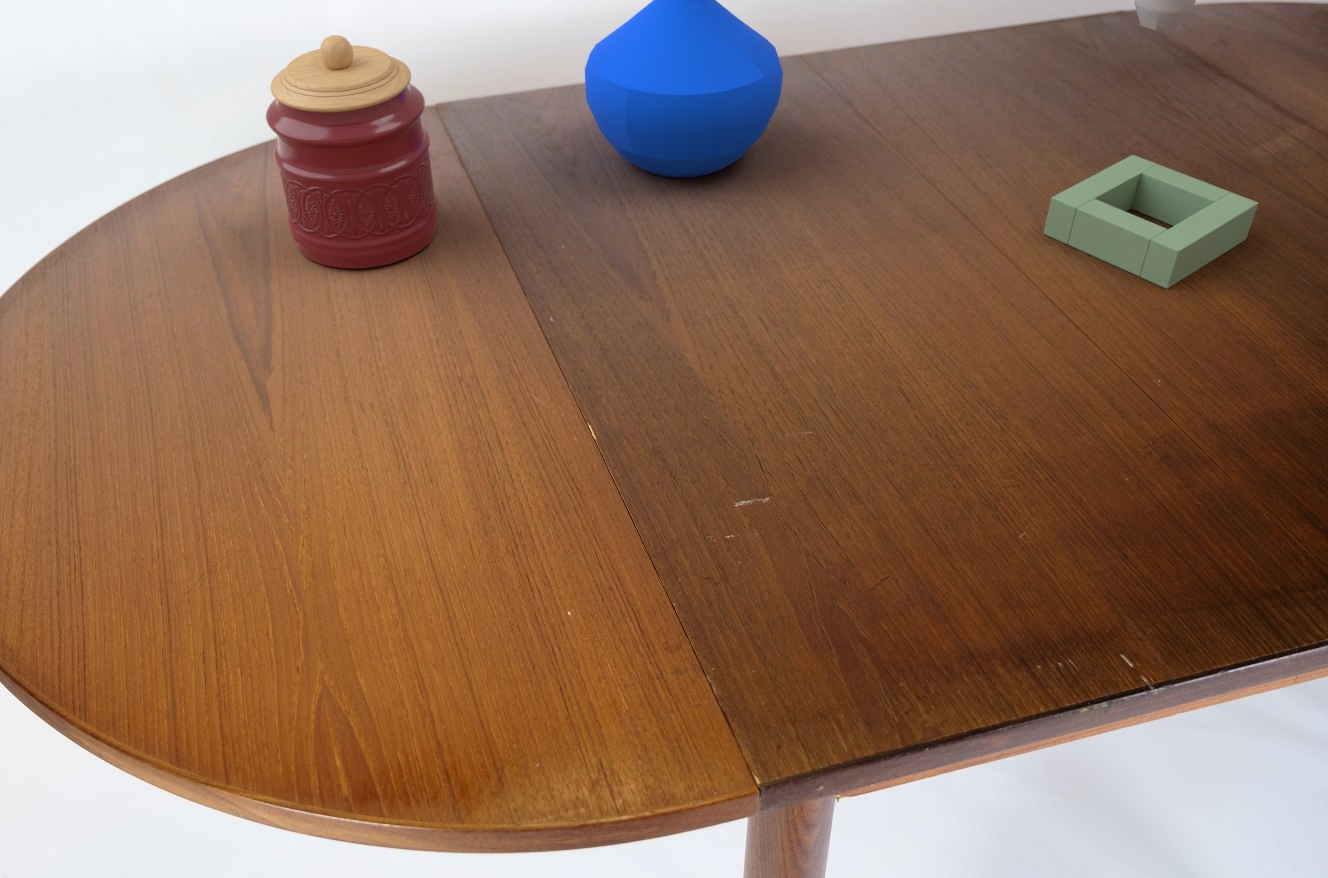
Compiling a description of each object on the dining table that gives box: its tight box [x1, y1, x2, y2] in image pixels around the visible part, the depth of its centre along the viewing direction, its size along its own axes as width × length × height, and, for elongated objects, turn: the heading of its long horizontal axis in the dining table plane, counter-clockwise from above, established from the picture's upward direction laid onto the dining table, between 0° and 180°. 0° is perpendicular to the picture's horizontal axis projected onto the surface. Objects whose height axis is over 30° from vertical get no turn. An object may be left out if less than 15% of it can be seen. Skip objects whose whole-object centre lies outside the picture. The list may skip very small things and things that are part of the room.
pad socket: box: [1042, 154, 1259, 290], centre depth 105 cm, size 12×12×4 cm
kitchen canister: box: [265, 34, 440, 270], centre depth 104 cm, size 13×13×18 cm
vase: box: [584, 0, 784, 178], centre depth 114 cm, size 18×18×19 cm
